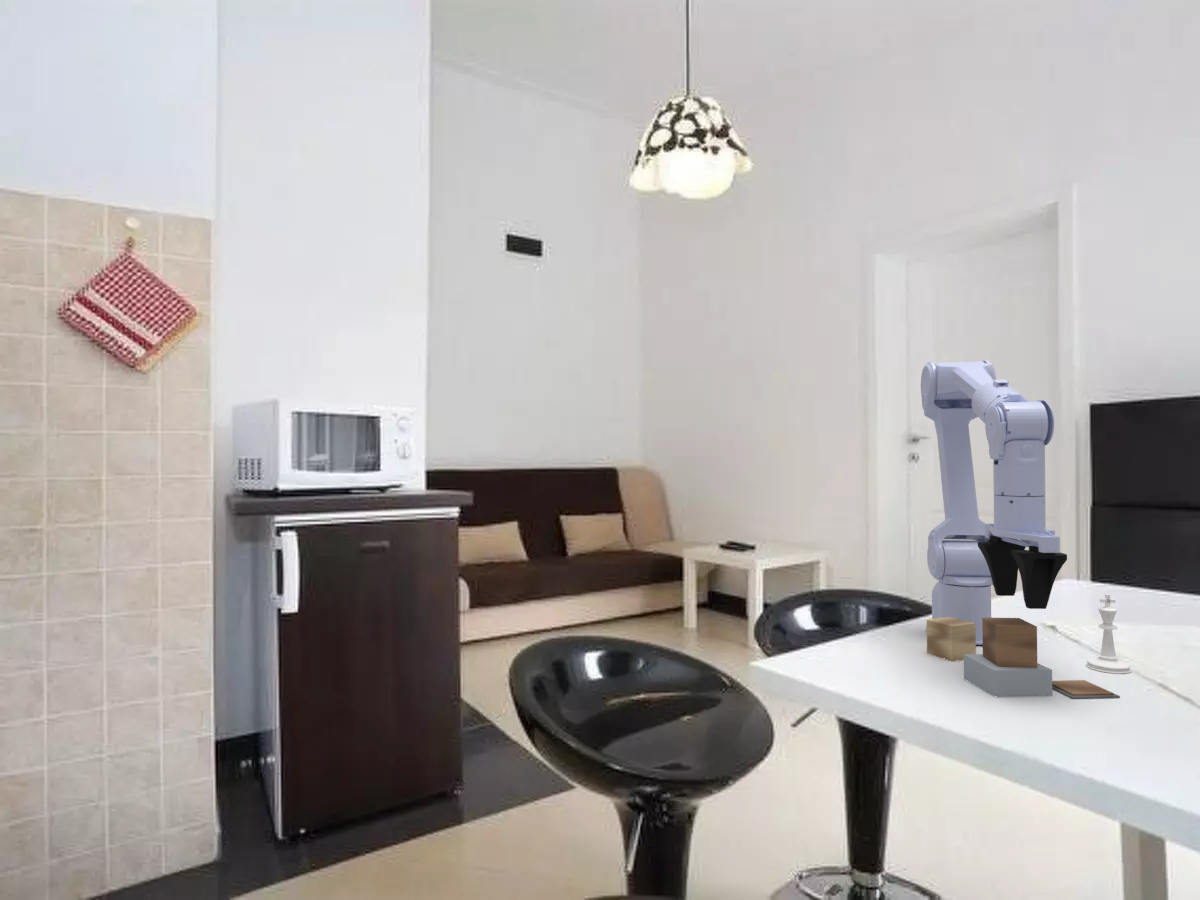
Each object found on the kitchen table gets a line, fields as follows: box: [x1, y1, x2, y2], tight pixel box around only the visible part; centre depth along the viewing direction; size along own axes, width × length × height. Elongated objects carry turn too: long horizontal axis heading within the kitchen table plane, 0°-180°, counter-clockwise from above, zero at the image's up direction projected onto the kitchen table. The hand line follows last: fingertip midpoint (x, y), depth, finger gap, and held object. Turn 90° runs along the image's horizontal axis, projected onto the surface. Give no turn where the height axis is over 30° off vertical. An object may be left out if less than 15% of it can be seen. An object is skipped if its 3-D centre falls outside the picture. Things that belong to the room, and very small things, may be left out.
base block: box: [963, 653, 1053, 698], centre depth 89 cm, size 7×7×4 cm
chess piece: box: [1085, 593, 1132, 675], centre depth 97 cm, size 5×5×10 cm
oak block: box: [926, 617, 977, 662], centre depth 103 cm, size 4×4×5 cm
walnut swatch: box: [1052, 679, 1121, 700], centre depth 88 cm, size 6×6×1 cm
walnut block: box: [982, 617, 1038, 668], centre depth 89 cm, size 4×4×5 cm
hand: (1019, 601), depth 91 cm, fingers open, 7 cm apart
